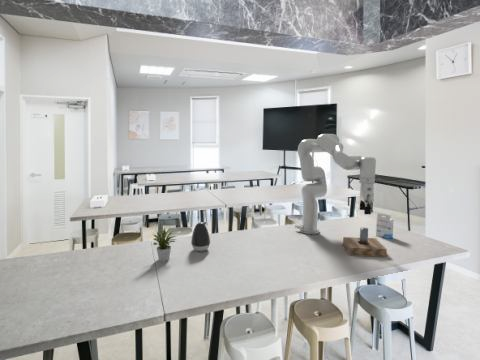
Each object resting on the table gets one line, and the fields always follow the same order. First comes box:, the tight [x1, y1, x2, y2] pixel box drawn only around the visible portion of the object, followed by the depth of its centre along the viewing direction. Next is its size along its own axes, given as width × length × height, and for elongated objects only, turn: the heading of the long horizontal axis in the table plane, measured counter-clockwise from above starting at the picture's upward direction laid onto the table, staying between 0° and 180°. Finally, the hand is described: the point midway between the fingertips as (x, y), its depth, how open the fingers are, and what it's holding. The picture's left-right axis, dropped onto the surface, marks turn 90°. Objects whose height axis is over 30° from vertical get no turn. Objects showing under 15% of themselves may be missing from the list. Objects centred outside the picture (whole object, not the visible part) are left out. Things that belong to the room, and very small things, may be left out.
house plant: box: [153, 227, 177, 262], centre depth 154 cm, size 14×14×16 cm
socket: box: [342, 236, 388, 258], centre depth 169 cm, size 18×18×4 cm
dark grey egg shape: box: [190, 221, 211, 252], centre depth 169 cm, size 10×10×15 cm
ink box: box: [375, 212, 394, 240], centre depth 192 cm, size 8×5×15 cm, turn 39°
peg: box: [359, 227, 369, 245], centre depth 169 cm, size 4×4×12 cm
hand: (364, 211), depth 167 cm, fingers open, 9 cm apart
